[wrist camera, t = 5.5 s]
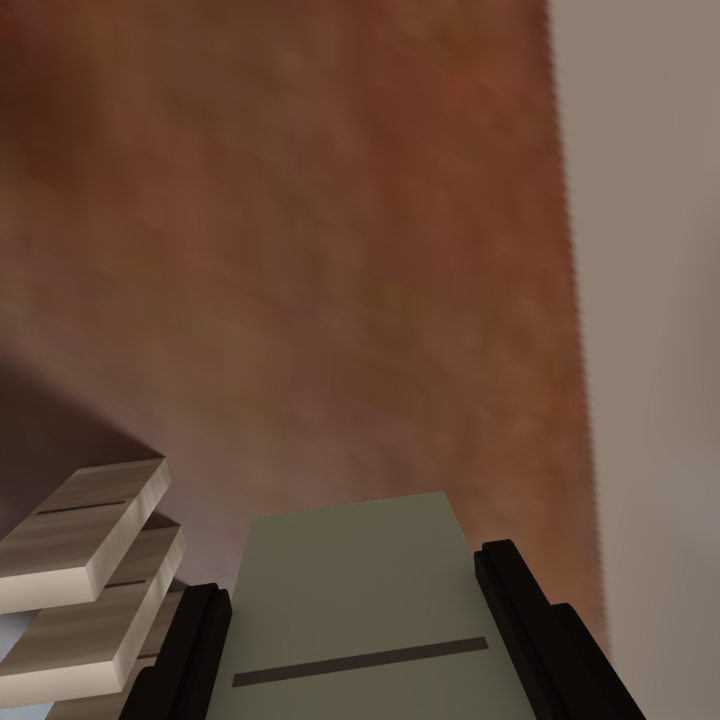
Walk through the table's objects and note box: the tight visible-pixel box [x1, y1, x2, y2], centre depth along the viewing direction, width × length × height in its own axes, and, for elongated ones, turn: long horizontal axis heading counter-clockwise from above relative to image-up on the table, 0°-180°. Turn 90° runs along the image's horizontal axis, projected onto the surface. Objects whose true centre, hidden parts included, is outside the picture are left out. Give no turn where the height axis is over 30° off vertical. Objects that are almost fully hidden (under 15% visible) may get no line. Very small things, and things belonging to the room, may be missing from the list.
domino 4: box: [205, 491, 537, 720], centre depth 8 cm, size 2×5×10 cm, turn 97°
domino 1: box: [0, 457, 171, 614], centre depth 25 cm, size 2×5×10 cm, turn 97°
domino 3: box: [45, 591, 184, 720], centre depth 27 cm, size 2×5×10 cm, turn 97°
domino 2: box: [0, 525, 186, 709], centre depth 26 cm, size 2×5×10 cm, turn 97°
